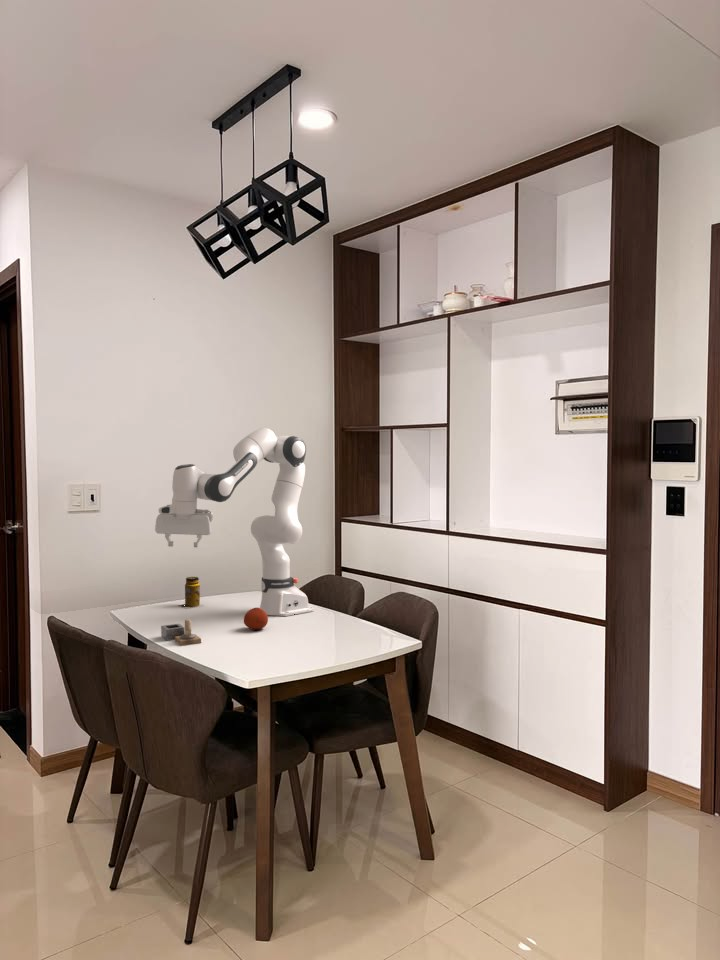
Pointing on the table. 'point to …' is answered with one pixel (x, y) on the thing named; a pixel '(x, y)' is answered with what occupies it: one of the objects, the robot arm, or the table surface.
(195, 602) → the condiment
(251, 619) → the fruit
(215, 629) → the table surface
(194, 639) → the post block
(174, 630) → the grey square frame
